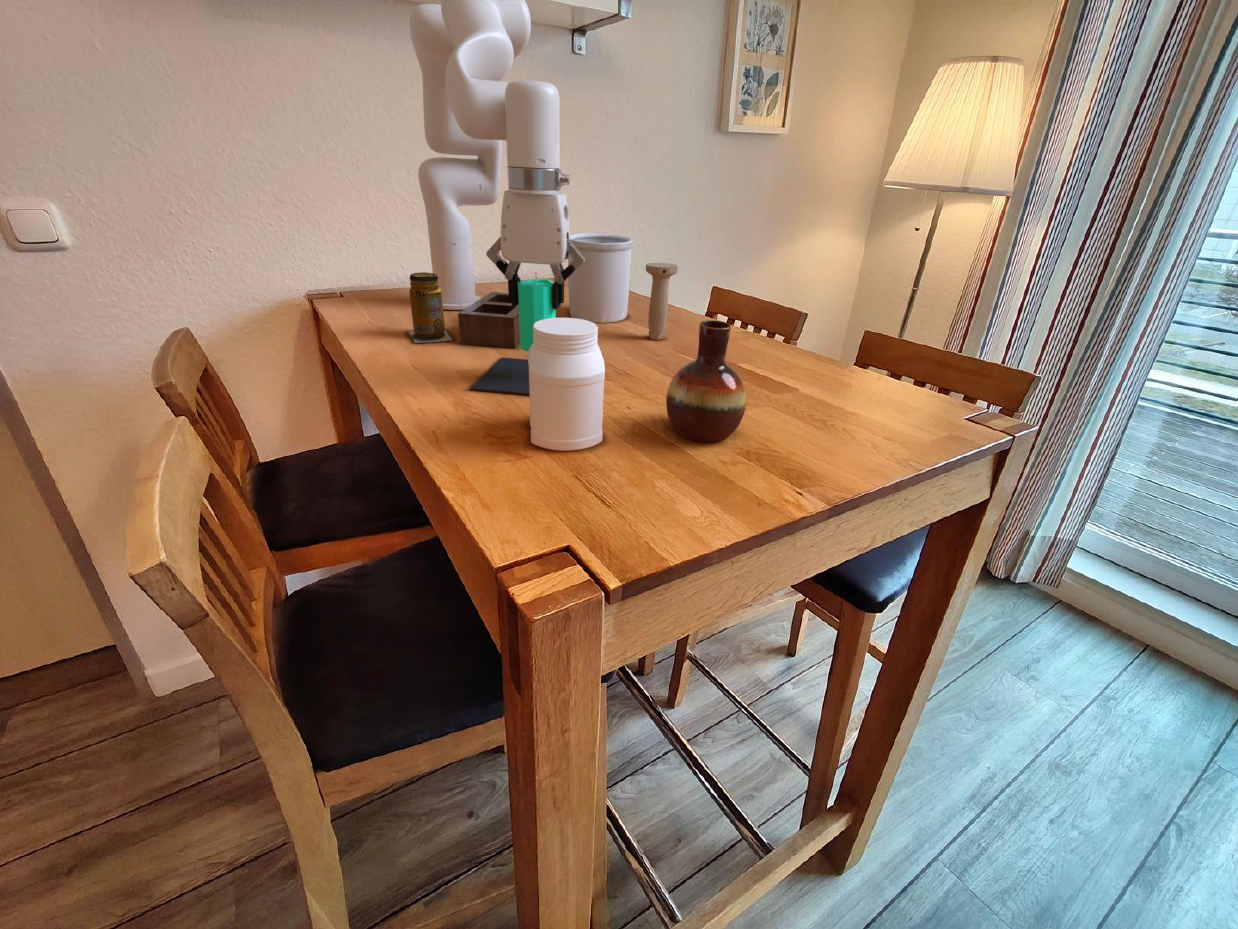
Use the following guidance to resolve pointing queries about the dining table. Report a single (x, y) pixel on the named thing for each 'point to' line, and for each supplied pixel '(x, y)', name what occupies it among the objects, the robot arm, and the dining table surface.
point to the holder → (490, 322)
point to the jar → (566, 384)
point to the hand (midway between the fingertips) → (536, 304)
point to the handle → (659, 297)
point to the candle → (533, 307)
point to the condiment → (427, 309)
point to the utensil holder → (600, 277)
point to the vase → (707, 390)
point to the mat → (505, 377)
